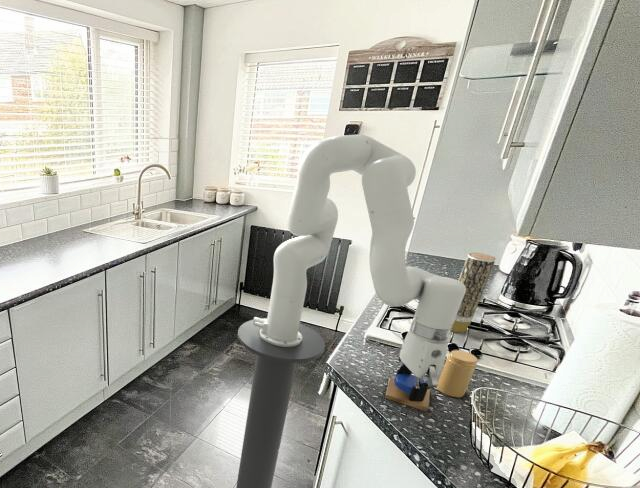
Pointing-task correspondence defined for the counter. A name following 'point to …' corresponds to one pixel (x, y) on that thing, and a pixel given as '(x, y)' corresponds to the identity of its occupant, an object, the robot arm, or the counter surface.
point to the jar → (457, 373)
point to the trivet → (405, 396)
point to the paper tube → (472, 287)
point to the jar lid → (405, 382)
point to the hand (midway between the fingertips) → (408, 390)
